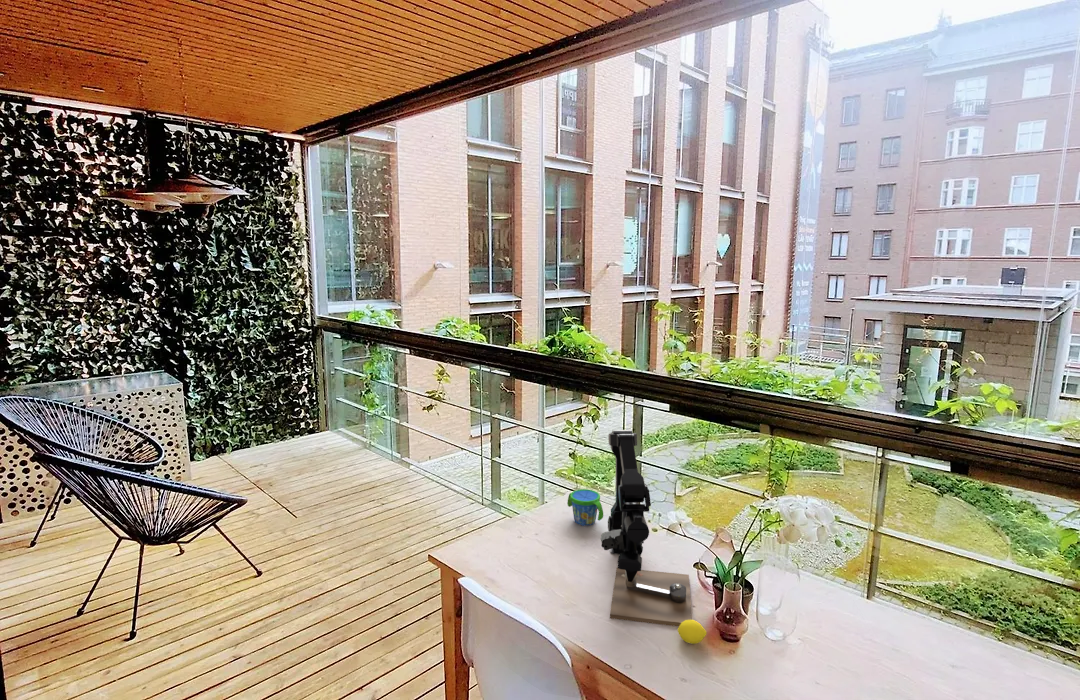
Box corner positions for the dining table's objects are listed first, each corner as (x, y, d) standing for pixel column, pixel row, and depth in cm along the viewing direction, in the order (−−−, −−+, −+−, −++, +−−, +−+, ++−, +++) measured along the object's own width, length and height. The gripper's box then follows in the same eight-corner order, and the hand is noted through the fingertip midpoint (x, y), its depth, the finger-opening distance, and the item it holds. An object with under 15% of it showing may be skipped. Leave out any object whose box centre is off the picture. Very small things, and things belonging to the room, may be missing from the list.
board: (616, 571, 171) (616, 567, 171) (688, 578, 167) (688, 574, 166) (609, 618, 149) (609, 613, 149) (692, 628, 145) (692, 623, 144)
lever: (687, 595, 156) (687, 571, 155) (684, 604, 152) (685, 579, 151) (627, 582, 162) (627, 558, 161) (623, 590, 158) (623, 566, 157)
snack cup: (610, 525, 199) (611, 498, 198) (587, 534, 193) (588, 506, 192) (582, 510, 212) (582, 484, 210) (560, 517, 206) (559, 491, 204)
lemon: (677, 647, 139) (674, 626, 138) (680, 633, 144) (677, 613, 143) (706, 650, 136) (704, 629, 135) (708, 636, 141) (706, 616, 140)
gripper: (606, 508, 168) (605, 557, 170) (599, 537, 150) (597, 592, 152) (644, 511, 166) (643, 561, 168) (642, 542, 148) (640, 597, 150)
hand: (630, 577), depth 160 cm, fingers open, 4 cm apart
